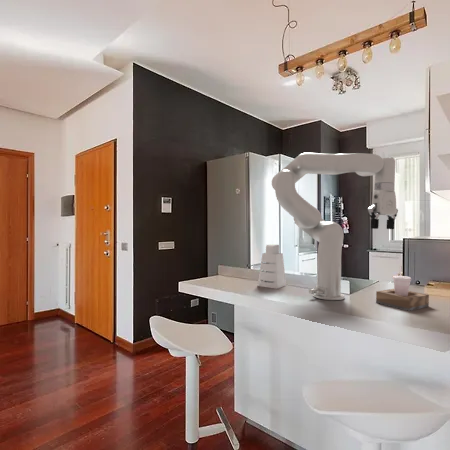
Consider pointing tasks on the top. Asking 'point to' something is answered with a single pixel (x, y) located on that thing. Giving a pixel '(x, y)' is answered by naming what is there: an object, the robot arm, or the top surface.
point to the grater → (272, 268)
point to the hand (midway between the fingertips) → (382, 228)
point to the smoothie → (401, 284)
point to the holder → (402, 299)
